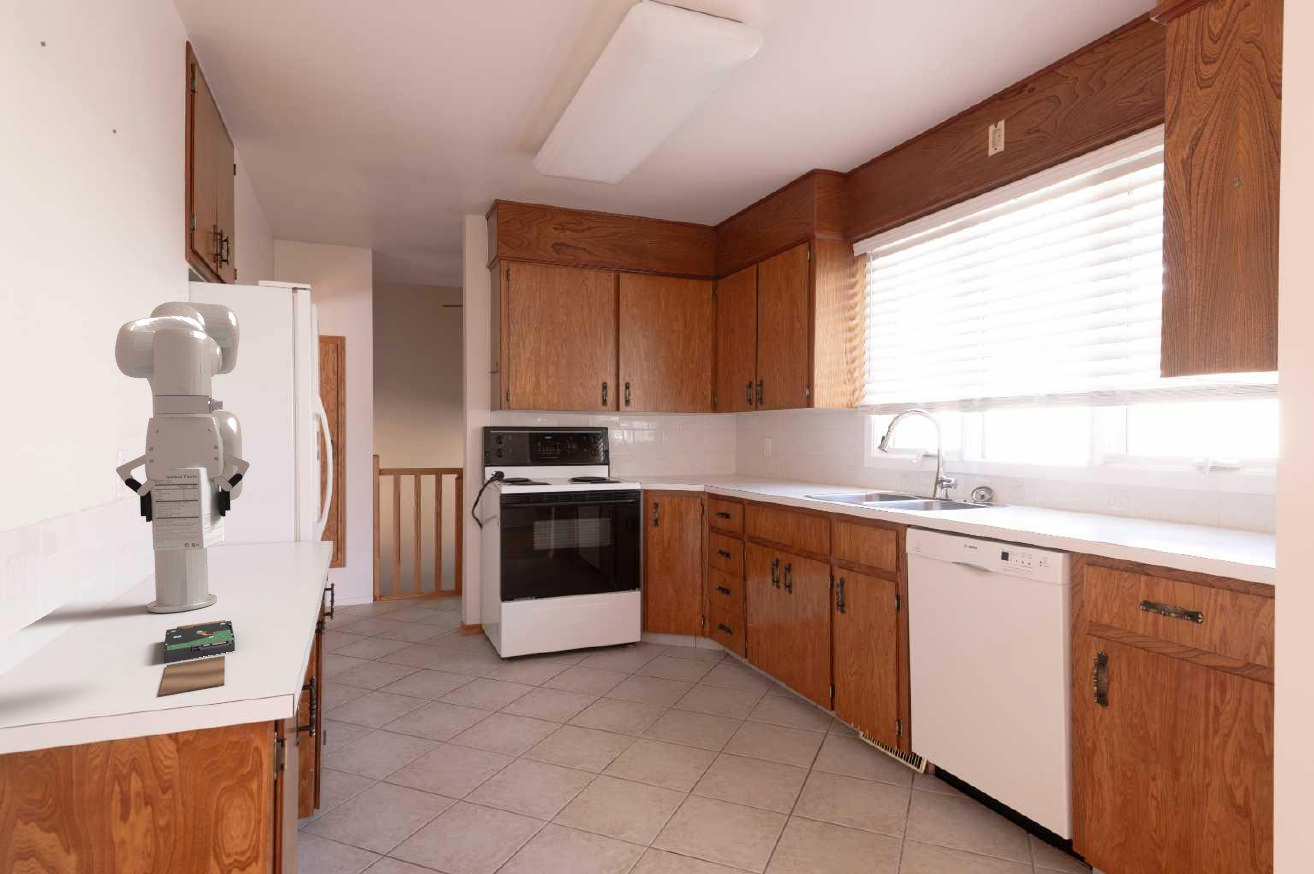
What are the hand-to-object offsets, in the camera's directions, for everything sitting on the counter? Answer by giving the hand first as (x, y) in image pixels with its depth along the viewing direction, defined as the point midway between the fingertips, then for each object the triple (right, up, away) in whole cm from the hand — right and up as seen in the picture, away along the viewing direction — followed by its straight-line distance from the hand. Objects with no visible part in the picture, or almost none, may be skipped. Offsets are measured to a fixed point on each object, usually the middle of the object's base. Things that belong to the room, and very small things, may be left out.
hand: (187, 518), depth 110 cm
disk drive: (-7, -25, +15) cm, 30 cm away
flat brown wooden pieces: (-6, -24, +11) cm, 27 cm away
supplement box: (0, -5, +1) cm, 5 cm away
